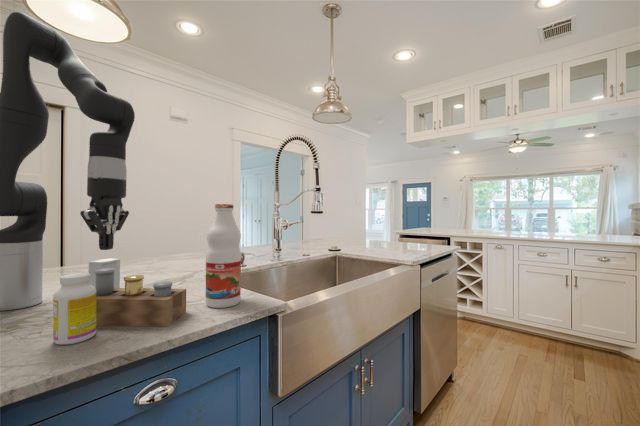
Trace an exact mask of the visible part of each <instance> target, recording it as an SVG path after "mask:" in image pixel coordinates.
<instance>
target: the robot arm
mask: <svg viewBox="0 0 640 426" xmlns="http://www.w3.org/2000/svg"><path fill="white" fill-rule="evenodd" d="M2 31H3V32H2V33H3V35H2V75H1V77H2V78H1V86H0V217H17V219H16V221H15V222H14V223H13V224H11V225H10V226H7V227H4V228H2V229H0V311H13V310H18V309H19V310H20V309H25V308H30V307H33V306H36V305H38V304H40V303H43V276H44V275H43V272H44V271H43V269H44V268H43V265H44V264H43V260H44V259H43V248H44V247H43V246H44V245H43V242H44V241H43V237H44V236H43V235H44V233H45V232H46V225H47V215H48V212H47V211H48V195H47V192H46V190H45V188H44V187H43V186H42V185H40V184H38V183H36V182H34V183H33V182H24V181H16V178H17V174H18V171H19V169H20V166H21V164H22V163H23V162H24V160H25V159H26V158H27V157H28V156H29V155H30V154H31V153H32V152H33V151H35V150H36V149H37V148H38V147H39V146H40V145H41V144H42V143H43V142H44V140H45V139H46V136H47V133H48V127H49V126H48V125H49V119H50V118H49V117H50V113H49V110H48V106H47V105H46V102H45V100H44V98H43V96H42V94H41V93H40V91H39V88H38V87H37V85H36V83H35V81H34V79H33V77H32V73H31V65H30V64H31V63H30V62H31V61H30V59H31V58H32V59H35V60H37V61H40V62H43V63H45V64H49V65H51V66H53V67H54V68H56V69H57V76H58V79H59V81H60V82H61V83H62V85H63V86H64V87H65V88H66V89H67V91H69V92H70V94H72V95H73V96H74V98H75V100H76V103H77V105H78V108H79V110H80V112H82V114H84V116H86V117H87V118H89V119H91V120H93V121H96V122H99V123H103V124H106V125H109V127H108V129H107V132H105V131H96V132H93V133H92V134H90V136H89V144H88V145H89V151H88V152H89V153H88V163H87V174H86V175H87V181H86V182H87V185H86V187H87V188H86V195H87V196H88V197H90V199H91V200H90V202H89V207H88V208H87V210H81V211H80V214H79V215H80V216H81V217H82V219H83V221H84V222H85V224H86V225H87V227H88V228H89V230H90V232H92V233H97V234H98V247H99V250H101V251H107V250H109V251H110V250H112V249H114V243H115V242H114V239H115V237H114V236H115V235H114V234H116V232H118V231H121V230H122V227H123V226H124V224H125V222H126V220H127V219H128V217H129V215H130V211H129V210H125V208H123V202H122V199H124V198H126V197H127V174H128V173H127V162H126V160H127V159H126V158H127V155H126V154H127V153H126V151H127V148H126V147H127V142H128V141H129V140H128V139H129V137H130V132H131V131H132V128H133V126H134V122H135V110H134V107H133V106H132V104H131V103H130V102H129V101H127V100H126V99H124V98H121V97H119V96H117V95H114V94H112V93H108V90H107V87H106V86H105V84H104V83H103V82H102V80H100V79H99V78H98V77H97V76H96V74H94V73H93V72H92V71H91V70H89V68H88V67H87V66H86V64H84V63H83V62H82V61H81V59H80V58H79V56H78V54H77V53H76V52H75V51H74V49H73V48H72V46H71V45H70V43H69V41H68V40H67V38H65V37H64V36H63V35H62V34H61V32H59V31H57V29H54V28H52V27H50V26H49V25H47V24H45V23H43V22H41V21H39V20H37V19H36V18H34V17H32V16H30V15H28V14H26V13H24V12H23V11H17V10H16V11H13V12H10V13H9V15H8V16H7V17H6V19H5V23H4V26H3V30H2Z"/></svg>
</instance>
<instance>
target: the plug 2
mask: <svg viewBox="0 0 640 426" xmlns="http://www.w3.org/2000/svg"><path fill="white" fill-rule="evenodd" d="M172 286H173V282H172V281H159V282H154V283H153V284H152V288H154V297H167V296H169V295H171V289H172Z"/></svg>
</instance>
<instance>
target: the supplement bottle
mask: <svg viewBox="0 0 640 426" xmlns="http://www.w3.org/2000/svg"><path fill="white" fill-rule="evenodd" d="M89 281H90V274H89V272H77V273H69V274H64V275H61V276H60V277H59V284H60V286H61V287H60V288H59V289H57V290H55V291H54V293H53V295H52V296H53V298H52V301H53V302H52V309H53V310H52V311H53V312H52V314H53V315H52V326H53V327H52V329H53V330H52V337H53V338H52V339H53V343H54V344H55V345H59V346H60V345H62V346H63V345H65V346H66V345H73V344H78V343H82V342H85V341H87V340H89V339H91V338H92V337H94V336H95V335H96V333H97V325H96V288H95V287H94V286H92V285H89Z"/></svg>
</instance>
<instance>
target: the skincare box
mask: <svg viewBox="0 0 640 426" xmlns="http://www.w3.org/2000/svg"><path fill="white" fill-rule="evenodd" d="M105 268H115V272H114V288H121V287H120V284H121V283H120V280H121V277H120V276H121V259H120V258H111V257H110V258H103V259H96V260H93V261H88V273H89V274H90V281H89V285H92V286H94V287H95V288H96V274H95V270H98V269H105Z"/></svg>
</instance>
